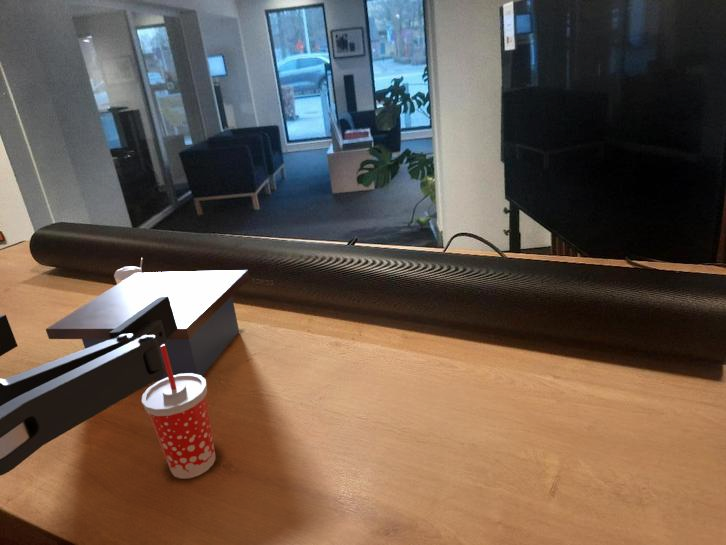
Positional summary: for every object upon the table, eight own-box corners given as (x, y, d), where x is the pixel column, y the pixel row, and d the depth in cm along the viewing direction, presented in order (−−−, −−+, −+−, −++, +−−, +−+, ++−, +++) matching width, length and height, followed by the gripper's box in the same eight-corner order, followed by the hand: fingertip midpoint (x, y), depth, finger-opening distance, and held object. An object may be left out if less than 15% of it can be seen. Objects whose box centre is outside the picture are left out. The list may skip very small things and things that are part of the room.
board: (48, 339, 65) (45, 329, 64) (137, 281, 83) (135, 272, 83) (189, 339, 61) (186, 328, 60) (249, 278, 79) (247, 269, 79)
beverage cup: (230, 467, 51) (202, 347, 46) (168, 494, 48) (132, 370, 43) (214, 435, 56) (188, 324, 51) (158, 458, 53) (124, 343, 48)
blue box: (94, 378, 70) (78, 328, 67) (149, 331, 83) (137, 287, 80) (198, 380, 67) (186, 328, 64) (239, 331, 80) (230, 286, 77)
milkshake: (161, 311, 91) (148, 259, 87) (132, 322, 87) (117, 269, 83) (150, 305, 94) (137, 255, 90) (121, 316, 90) (106, 264, 86)
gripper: (-475, 635, 21) (-38, 379, 41) (67, 621, 17) (250, 350, 38) (-601, 487, 19) (-74, 294, 39) (-11, 440, 15) (228, 256, 35)
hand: (86, 322), depth 38 cm, fingers open, 13 cm apart
